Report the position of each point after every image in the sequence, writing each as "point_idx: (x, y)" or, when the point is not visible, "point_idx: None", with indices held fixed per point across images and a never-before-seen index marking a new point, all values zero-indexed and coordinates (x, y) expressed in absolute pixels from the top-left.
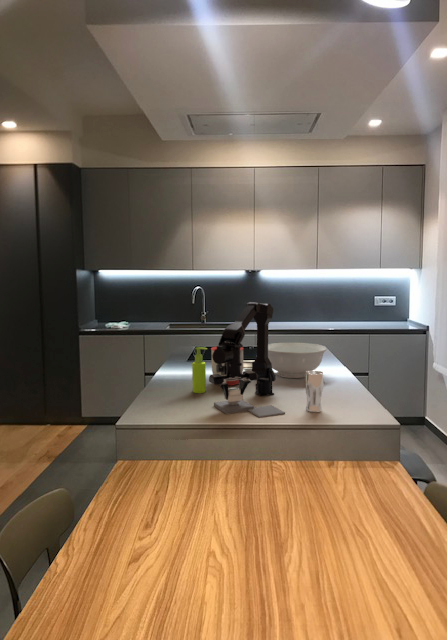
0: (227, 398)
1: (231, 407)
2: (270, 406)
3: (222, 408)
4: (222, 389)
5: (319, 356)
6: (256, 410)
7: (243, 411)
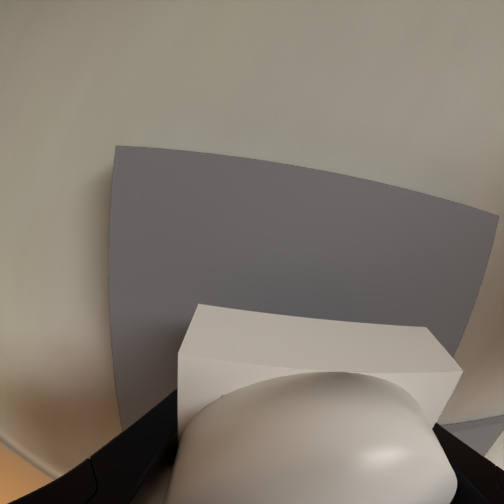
0: None
1: None
2: (483, 443)
3: (119, 395)
4: (64, 489)
5: None
6: None
7: None
